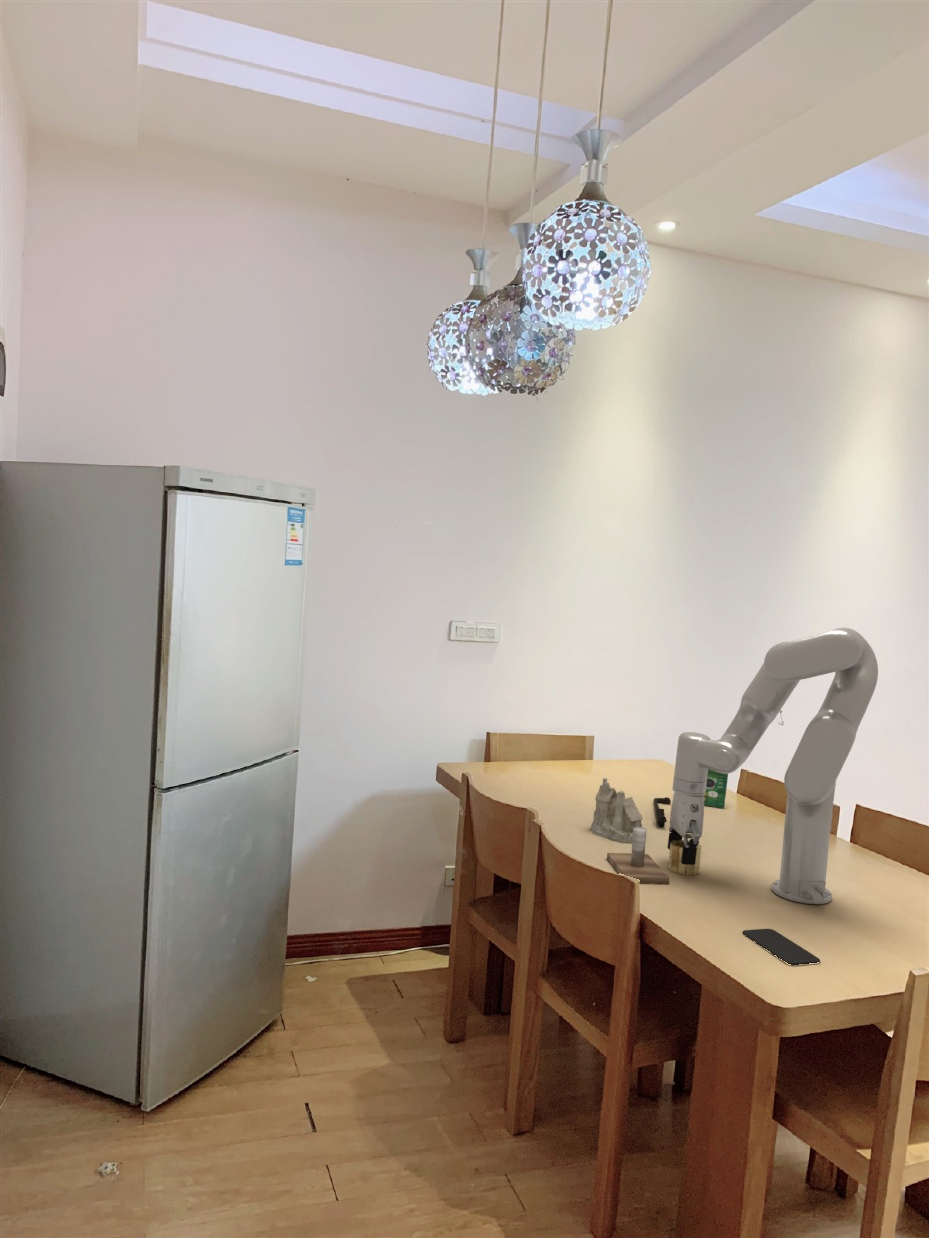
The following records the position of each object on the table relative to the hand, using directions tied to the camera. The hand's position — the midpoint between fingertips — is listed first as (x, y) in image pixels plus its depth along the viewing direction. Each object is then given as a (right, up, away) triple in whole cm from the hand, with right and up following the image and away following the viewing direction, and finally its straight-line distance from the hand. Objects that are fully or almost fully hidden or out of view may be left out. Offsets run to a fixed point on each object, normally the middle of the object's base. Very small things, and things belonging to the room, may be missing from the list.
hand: (680, 856), depth 211 cm
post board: (-11, -2, -3) cm, 12 cm away
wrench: (+6, -1, +46) cm, 47 cm away
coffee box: (+24, -1, +60) cm, 65 cm away
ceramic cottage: (-9, -1, +27) cm, 28 cm away
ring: (+1, -3, 0) cm, 3 cm away
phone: (+9, -7, -42) cm, 43 cm away
